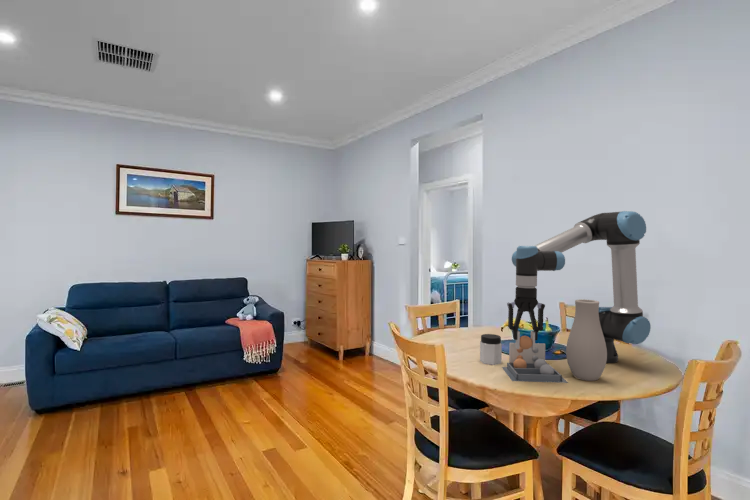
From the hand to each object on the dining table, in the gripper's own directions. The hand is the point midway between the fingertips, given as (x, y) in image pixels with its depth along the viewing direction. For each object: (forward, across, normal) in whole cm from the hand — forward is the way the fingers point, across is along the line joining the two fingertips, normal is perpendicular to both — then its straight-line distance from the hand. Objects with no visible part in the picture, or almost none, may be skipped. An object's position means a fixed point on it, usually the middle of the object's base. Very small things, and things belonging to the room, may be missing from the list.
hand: (525, 348), depth 156 cm
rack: (+12, -4, -4) cm, 13 cm away
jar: (+12, +9, -19) cm, 24 cm away
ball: (0, 0, 0) cm, 0 cm away
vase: (+12, -23, -2) cm, 26 cm away
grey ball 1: (+11, -8, -7) cm, 15 cm away
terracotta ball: (+11, 0, -7) cm, 13 cm away
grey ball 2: (+11, -8, 0) cm, 14 cm away
